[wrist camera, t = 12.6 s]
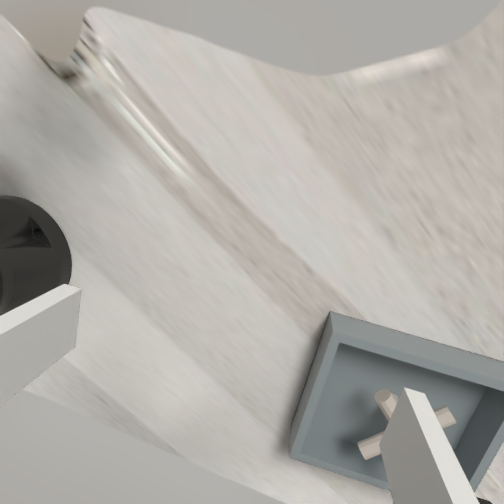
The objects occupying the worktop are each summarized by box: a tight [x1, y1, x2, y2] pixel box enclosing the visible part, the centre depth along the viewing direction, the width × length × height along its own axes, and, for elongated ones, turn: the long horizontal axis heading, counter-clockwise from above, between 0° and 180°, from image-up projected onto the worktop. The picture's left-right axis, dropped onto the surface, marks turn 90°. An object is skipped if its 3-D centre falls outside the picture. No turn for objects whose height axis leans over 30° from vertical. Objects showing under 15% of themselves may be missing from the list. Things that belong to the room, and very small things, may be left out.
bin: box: [289, 311, 504, 493], centre depth 40 cm, size 20×17×5 cm
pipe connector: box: [358, 389, 457, 460], centre depth 37 cm, size 10×10×10 cm
